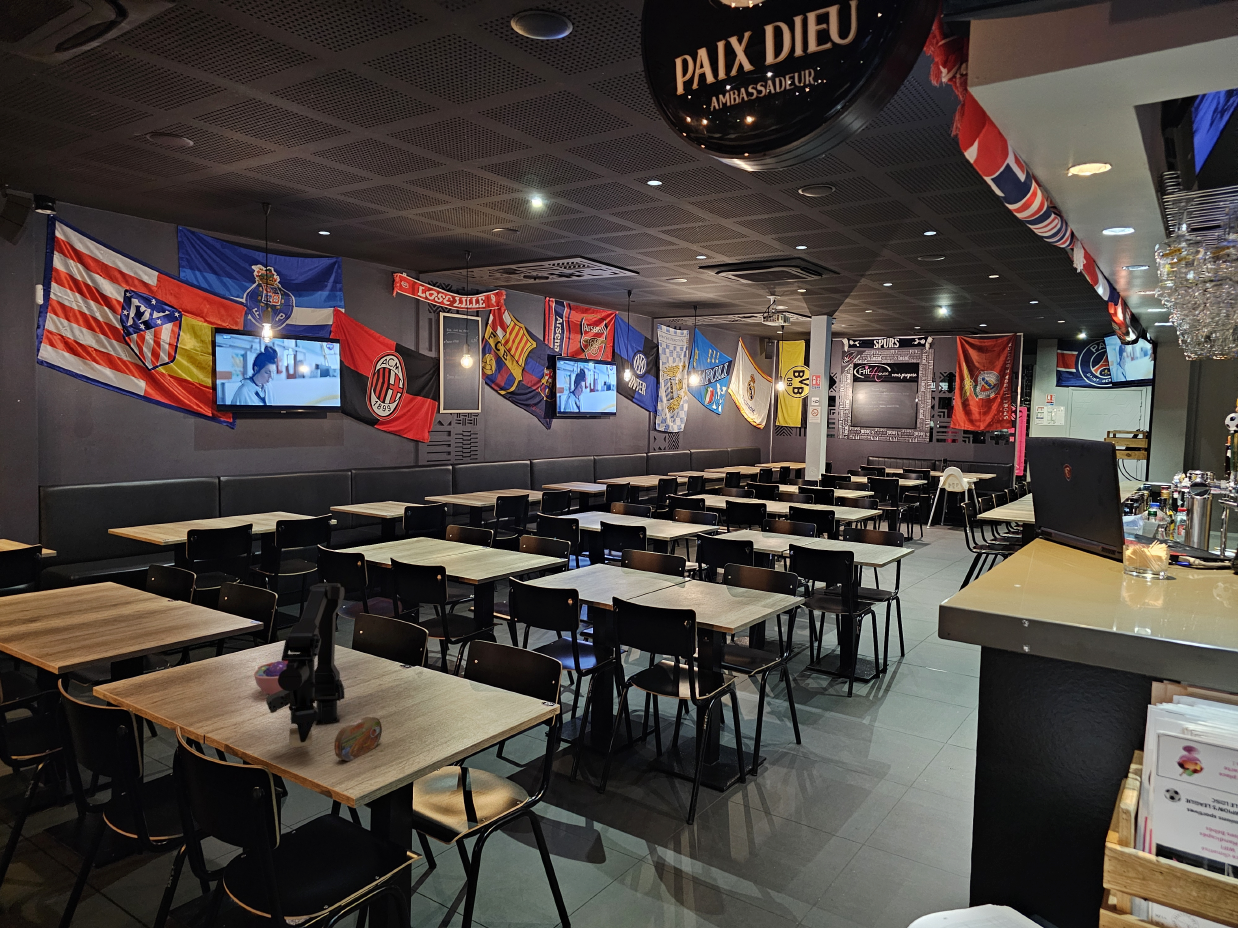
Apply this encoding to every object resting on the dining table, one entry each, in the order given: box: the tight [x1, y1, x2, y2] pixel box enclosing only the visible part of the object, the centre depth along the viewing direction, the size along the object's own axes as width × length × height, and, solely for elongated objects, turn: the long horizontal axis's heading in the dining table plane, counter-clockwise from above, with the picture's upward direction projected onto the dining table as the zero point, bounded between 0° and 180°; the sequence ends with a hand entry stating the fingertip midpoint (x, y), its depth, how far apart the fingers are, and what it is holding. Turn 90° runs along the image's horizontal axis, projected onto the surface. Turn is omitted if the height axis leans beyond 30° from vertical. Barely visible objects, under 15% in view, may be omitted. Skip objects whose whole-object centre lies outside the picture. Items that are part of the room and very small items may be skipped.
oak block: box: [288, 726, 313, 749], centre depth 191 cm, size 5×5×3 cm
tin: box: [333, 716, 383, 762], centre depth 192 cm, size 15×3×8 cm, turn 157°
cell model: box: [253, 660, 288, 696], centre depth 237 cm, size 17×20×11 cm
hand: (302, 738), depth 191 cm, fingers closed on oak block, 5 cm apart
